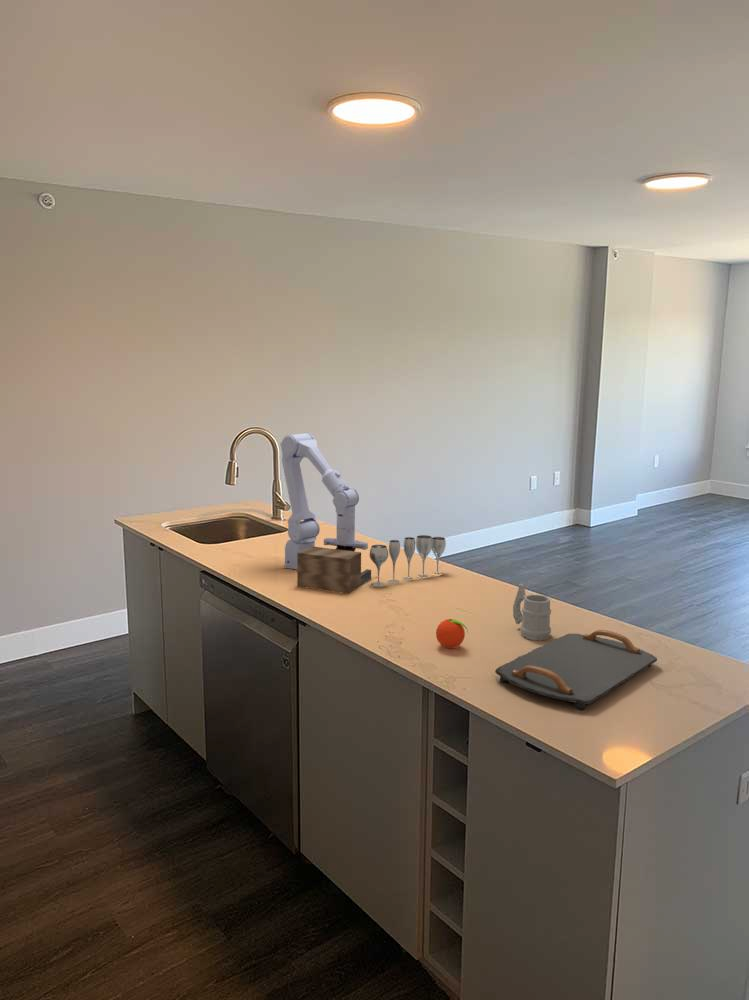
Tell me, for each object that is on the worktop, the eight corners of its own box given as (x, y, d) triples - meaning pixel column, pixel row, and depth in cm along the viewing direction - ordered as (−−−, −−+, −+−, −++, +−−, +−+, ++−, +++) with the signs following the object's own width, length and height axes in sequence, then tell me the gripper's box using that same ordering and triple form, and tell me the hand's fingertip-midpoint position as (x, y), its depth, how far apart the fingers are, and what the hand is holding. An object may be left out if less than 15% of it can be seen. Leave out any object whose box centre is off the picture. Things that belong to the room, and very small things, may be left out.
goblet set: (437, 571, 252) (438, 531, 249) (448, 575, 247) (450, 535, 245) (365, 583, 237) (366, 541, 234) (375, 588, 232) (376, 545, 230)
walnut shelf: (297, 586, 233) (297, 552, 231) (322, 572, 248) (322, 540, 246) (348, 593, 226) (348, 559, 224) (371, 579, 241) (371, 546, 240)
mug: (535, 643, 189) (537, 596, 187) (502, 629, 199) (504, 584, 196) (557, 637, 193) (560, 591, 191) (523, 623, 203) (526, 580, 201)
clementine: (472, 645, 187) (473, 617, 185) (463, 655, 181) (464, 626, 179) (441, 640, 190) (441, 612, 189) (431, 649, 184) (432, 621, 182)
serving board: (581, 720, 150) (583, 691, 148) (483, 685, 165) (484, 658, 164) (664, 665, 177) (666, 640, 176) (574, 640, 193) (575, 616, 192)
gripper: (371, 527, 242) (371, 568, 244) (330, 522, 247) (330, 563, 250) (362, 531, 235) (362, 574, 238) (320, 526, 241) (320, 568, 243)
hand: (345, 569), depth 243 cm, fingers closed
